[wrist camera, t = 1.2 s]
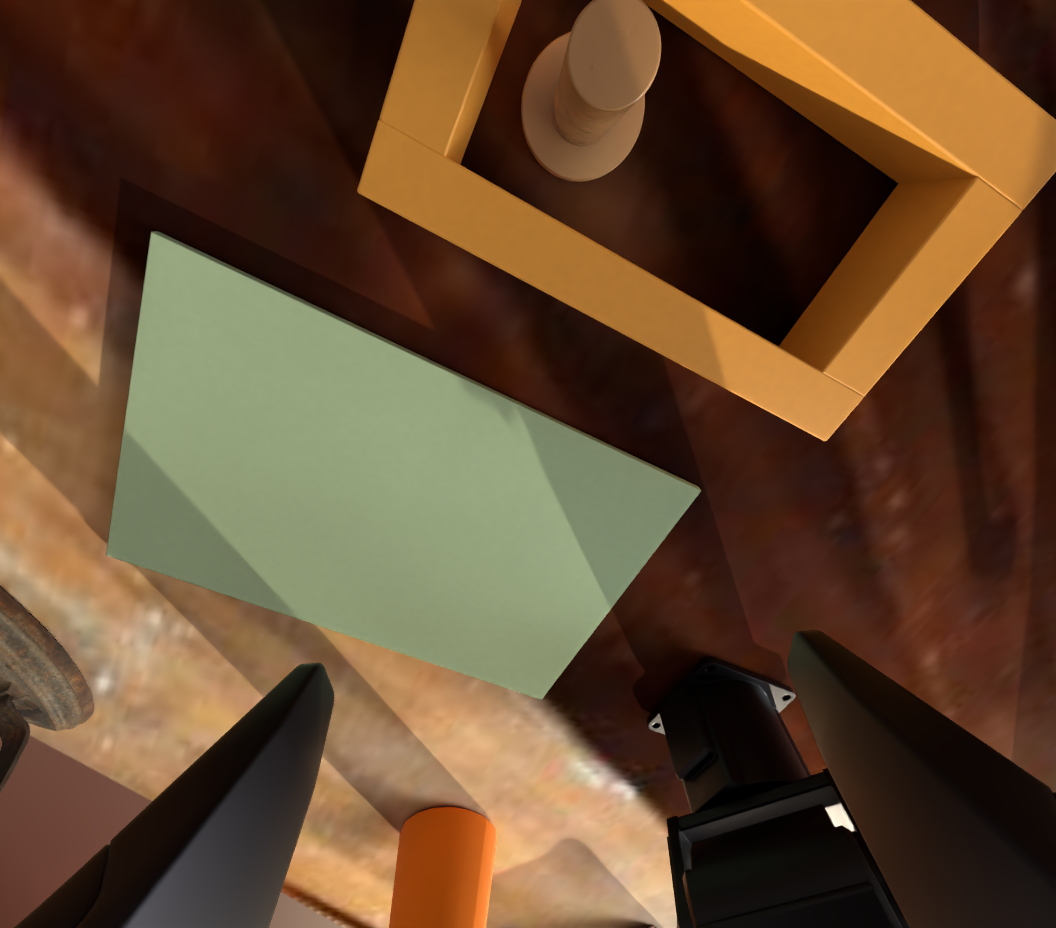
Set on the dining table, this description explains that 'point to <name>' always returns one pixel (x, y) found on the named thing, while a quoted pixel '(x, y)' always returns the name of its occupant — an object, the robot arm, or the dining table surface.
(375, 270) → the dining table surface
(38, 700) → the clothes iron
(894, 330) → the rectangular frame
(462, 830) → the spray bottle
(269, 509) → the mat
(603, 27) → the peg stand
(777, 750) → the robot arm
